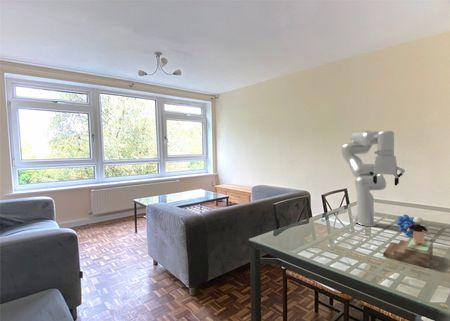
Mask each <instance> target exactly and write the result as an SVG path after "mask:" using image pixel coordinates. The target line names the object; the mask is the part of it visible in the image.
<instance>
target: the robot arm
mask: <svg viewBox="0 0 450 321" xmlns="http://www.w3.org/2000/svg"><path fill="white" fill-rule="evenodd" d="M350 140H351V142H348V143H344V144H343V145H342V146H341V154H342V155H341V156H342V157H343V159H344V160H345V162H346V163H347V164H348V166H349V168H350V171H351V173H352V175H353V177H355V179H354V186H355V190H356V213H357V214H356V215H354V214H353V215H352V214H351V215H350V218H351V219H352V220H354V223H355V222H358V223H359V224H361V225H365V226H364V227H375V226H377V225H378V223H377V222H376V221H375V206H374V204H375V201H374V200H375V199H374V196H373V194H372V192H370V191H383V190H385V189H386V187H387V181H386V179H385V176H384V175H390V176H391V175H393V176H394V186H397V185H399V183H400V181H399V180H400V178H401V177H402V176H403V175H404V173H406V169H404V168H401V167H400V166H398V163H397V162H398V161H397V157H396V155H395V132H394V131H392V130H380V131H379V130H377V131H376V130H375V131H374V130H373V131H372V130H359V131H358V130H357V131H355V132H353V133H352V134H351V135H350ZM373 145H377V150H376V151H374V154H375V155H376V156H375V158H374V163H364V162H363V161H362V159H361V157H359V156H358V155H365V154H368V153H369V152H370V150H371V149H372V147H373ZM398 171H400V173H399V174H398ZM361 225H360V226H361Z"/></svg>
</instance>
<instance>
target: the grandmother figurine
mask: <svg viewBox="0 0 450 321" xmlns="http://www.w3.org/2000/svg"><path fill="white" fill-rule="evenodd" d="M413 221H414V222H415V224H414V225H411V226H409V227H408V230H407V231H408V232H410V230H413V229H414V231H413V236H412V238H413V241H414V242H413V244H414V245H419V244H418V243H420V245H421V246H425V245H426V244H425V243H424V241H425V234H426V236H429V235H430V233H429V230H428V229H427V227H425V226H424V225H423V224H422V223H423V218H422V217H421V216H415V217H414V219H413ZM424 233H425V234H424Z"/></svg>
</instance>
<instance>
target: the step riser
mask: <svg viewBox="0 0 450 321" xmlns="http://www.w3.org/2000/svg"><path fill="white" fill-rule="evenodd" d="M413 242H414V241H413V237H411V238H410V239H409V241H407V240H402V239H401V240H400V241H399V242H393V241H390V243H389V244H388V246H387V247H386V248H385V249H384V251H383V257H385V258H386V259H387V258H388V259H391V260H396V261H400V262H404V263H407V264H412V265H416V266H419V267H424V268H427V269H429V267H430V264H431V260H432V257H433V251H434V249H433V248H434V247H433V245H434V243H433V241H428V240H424V243H425V244H426V245H425V246H421V245H420V243H418V244H419V245H414V244H413Z"/></svg>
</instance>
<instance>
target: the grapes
mask: <svg viewBox="0 0 450 321" xmlns="http://www.w3.org/2000/svg"><path fill="white" fill-rule="evenodd" d="M414 218H415V217H413V216H409V215H408V214H403V215H398V216H397V220H396V222H395V223H396V225H397V226H399V227H398V229H399V231H400V232H402V233H404V234H405V236H407V237H411V236H412V237H413V231H414V229H413V230H410V232H408V231H407V230H408V227H409V226H411V225H414V224H415V222H414V221H413V219H414Z"/></svg>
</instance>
